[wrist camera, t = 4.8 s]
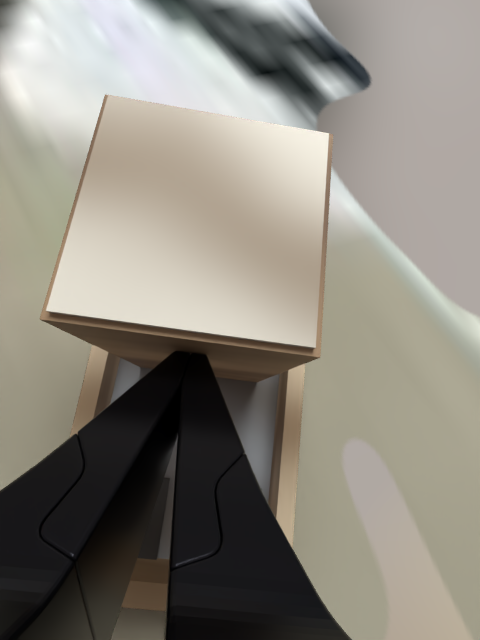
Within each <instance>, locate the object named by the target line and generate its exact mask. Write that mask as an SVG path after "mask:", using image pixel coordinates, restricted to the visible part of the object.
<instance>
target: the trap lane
mask: <svg viewBox="0 0 480 640" xmlns="http://www.w3.org/2000/svg"><path fill="white" fill-rule="evenodd" d="M151 370H152V369H150V368H142V367H139V366H137V365H135V364H132V363H130V362H128V361H126V360H124V359H122V358H120V357H118V356H116V355H114V354H111V353H109V352H107V351H105V350H103V349H101V348H99V347H97V346H95V345H93V344H92V348H91V352H90V356H89V360H88V364H87V368H86V372H85V376H84V380H83V385H82V389H81V393H80V397H79V401H78V405H77V409H76V413H75V417H74V421H73V426H72V430H71V434H70V437H71V436H73V435H74V434H77V432H78V431H79V430H80V429H81V428H82V427H84V426H85V425H86V424H87V423H88V422H90V421H91V420H92V419H93V418H94V417H96V416H97V415H98V414H99V413H100V412H102V411H103V410H104V409H105V408H106V407H108V406H109V405H110V404H111V403H112V402H114V401H115V400H116V399H117V398H118V397H120V396H121V395H122V394H123V393H124V392H126V391H127V390H128V389H129V388H130V387H132V386H133V385H134V384H135V383H136V382H138V381H139V380H140V379H141V378H142V377H144V376H145V375H146V374H147V373H148V372H150V371H151ZM304 374H305V364H302V365H300V366H297V367H295V368H292V369H290V370H287V371H285V372H282V373H280V374H277V375H275V376H272V377H270V378H267V379H265V380H262V381H260V382H250V381H243V380H235V379H227V378H219V377H216V379H217V382H218V384H219V387H220V389H221V392H222V394H223V397H224V399H225V402H226V404H227V407H228V409H229V412H230V414H231V417H232V419H233V422H234V425H235V427H236V430H237V432H238V435H239V437H240V440H241V442H242V445H243V447H244V450H245V454H246V455H247V457H248V459H249V462H250V465H251V467H252V470H253V472H254V474H255V476H256V479H257V481H258V483H259V486H260V488H261V490H262V492H263V494H264V496H265V498H266V500H267V502H268V504H269V506H270V508H271V510H272V512H273V514H274V516H275V518H276V519H277V521H278V523H279V525H280V527H281V528H282V530H283V532H284V534H285V536H286V538H287V539H288V541H289V543H290V545H291V547H292V548H293V533H294V519H295V504H296V490H297V476H298V461H299V447H300V432H301V418H302V403H303V389H304ZM77 435H78V434H77ZM177 439H178V435H177ZM177 439H176V443H175V446H174V449H173V452H172V455H171V458H170V461H169V464H168V467H167V470H166V473H165V476H164V479H163V482H162V485H161V488H160V491H159V494H158V497H157V500H156V503H155V506H154V509H153V512H152V515H151V518H150V521H149V525H148V528H147V531H146V534H145V537H144V540H143V543H142V546H141V549H140V552H139V555H138V558H137V561H136V564H135V567H134V570H133V573H132V576H131V579H130V582H129V585H128V588H127V591H126V594H125V597H124V600H123V603H122V606H121V607H124V608H135V609H146V610H157V611H166V599H167V585H168V570H169V555H170V541H171V526H172V511H173V497H174V482H175V467H176V453H177Z"/></svg>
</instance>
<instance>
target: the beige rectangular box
mask: <svg viewBox="0 0 480 640" xmlns="http://www.w3.org/2000/svg"><path fill="white" fill-rule="evenodd" d="M332 144H333V134H329V133H323V132H318V131H312V130H306V129H301V128H295V127H289V126H283V125H278V124H272V123H266V122H261V121H255V120H249V119H243V118H238V117H232V116H226V115H221V114H215V113H209V112H203V111H198V110H192V109H186V108H181V107H175V106H169V105H163V104H158V103H152V102H146V101H141V100H135V99H129V98H123V97H118V96H112V95H105V97H104V100H103V104H102V107H101V111H100V114H99V117H98V121H97V124H96V128H95V131H94V135H93V138H92V141H91V145H90V148H89V152H88V155H87V159H86V162H85V165H84V169H83V172H82V176H81V179H80V183H79V186H78V189H77V193H76V196H75V200H74V203H73V207H72V210H71V213H70V217H69V220H68V224H67V227H66V231H65V234H64V237H63V241H62V244H61V248H60V251H59V255H58V258H57V261H56V265H55V268H54V272H53V275H52V279H51V282H50V285H49V289H48V292H47V296H46V299H45V303H44V306H43V309H42V313H41V316H40V320H42V321H44V322H46V323H49V324H51V325H53V326H55V327H57V328H59V329H61V330H63V331H65V332H67V333H70V334H72V335H74V336H76V337H78V338H80V339H82V340H84V341H86V342H88V343H90V344H93V345H95V346H97V347H99V348H101V349H103V350H105V351H107V352H109V353H111V354H114V355H116V356H118V357H120V358H122V359H124V360H126V361H128V362H130V363H132V364H135V365H137V366H139V367H142V368H150V369H153V368H154V367H156V366H157V365H158V364H159V363H160V362H162V361H163V360H164V359H165V358H166V357H168V356H169V355H170V354H171V353H173V352H174V351H183V352H189V353H190V355H191V354H192V353H197V354H205V355H207V357H208V359H209V361H210V364H211V366H212V369H213V371H214V374H215V377H219V378H227V379H235V380H243V381H250V382H260V381H262V380H265V379H267V378H270V377H272V376H275V375H277V374H280V373H282V372H285V371H287V370H290V369H292V368H295V367H297V366H300V365H302V364H305V363H307V362H310V361H312V360H315V359H317V358H320V353H321V335H322V318H323V301H324V283H325V266H326V249H327V231H328V214H329V196H330V179H331V162H332Z"/></svg>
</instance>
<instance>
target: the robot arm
mask: <svg viewBox="0 0 480 640" xmlns="http://www.w3.org/2000/svg"><path fill="white" fill-rule="evenodd" d="M77 434H78V435H77ZM77 434H74V435H73V436H71V437H70V438H69V439H68V440H67V441H65V442H64V443H63V444H62V445H61V446H59V447H58V448H57V449H56V450H54V451H53V452H52V453H50V454H49V455H48V456H47V457H45V458H44V459H43V460H42V461H40V462H39V463H38V464H37V465H35V466H34V467H32V468H31V469H30V470H28V471H27V472H26V473H24V474H23V475H21V476H20V477H19V478H17V479H16V480H15V481H13V482H12V483H10V484H9V485H8V486H6V487H5V488H3V489H2V490H1V491H0V640H110V639H111V636H112V633H113V630H114V627H115V624H116V621H117V618H118V615H119V612H120V609H121V606H122V603H123V600H124V597H125V594H126V591H127V588H128V585H129V582H130V579H131V576H132V573H133V570H134V567H135V564H136V561H137V558H138V555H139V552H140V549H141V546H142V543H143V540H144V537H145V534H146V531H147V528H148V525H149V521H150V518H151V515H152V512H153V509H154V506H155V503H156V500H157V497H158V494H159V491H160V488H161V485H162V482H163V479H164V476H165V473H166V470H167V467H168V464H169V461H170V458H171V455H172V452H173V449H174V446H175V443H176V439H177V435H178V439H177V453H176V467H175V482H174V497H173V511H172V526H171V541H170V555H169V570H168V585H167V599H166V614H165V628H164V640H352V639H351V638H350V637H349V636H348V635H347V634H346V633H345V632H344V630H343V629H342V628H341V627H340V625H339V624H338V623H337V622H336V621H335V619H334V618H333V616H332V615H331V614H330V612H329V611H328V609H327V608H326V606H325V605H324V603H323V602H322V600H321V599H320V597H319V595H318V594H317V592H316V590H315V588H314V587H313V585H312V583H311V581H310V579H309V578H308V576H307V574H306V572H305V570H304V569H303V567H302V565H301V563H300V561H299V559H298V558H297V556H296V554H295V552H294V550H293V549H292V547H291V545H290V543H289V541H288V539H287V538H286V536H285V534H284V532H283V530H282V528H281V527H280V525H279V523H278V521H277V519H276V518H275V516H274V514H273V512H272V510H271V508H270V506H269V504H268V502H267V500H266V498H265V496H264V494H263V492H262V490H261V488H260V486H259V483H258V481H257V479H256V476H255V474H254V472H253V470H252V467H251V465H250V462H249V459H248V457H247V455H246V454H245V450H244V447H243V445H242V442H241V440H240V437H239V435H238V432H237V430H236V427H235V425H234V422H233V419H232V417H231V414H230V412H229V409H228V407H227V404H226V402H225V399H224V397H223V394H222V392H221V389H220V387H219V384H218V382H217V379H216V377H215V374H214V371H213V369H212V366H211V364H210V361H209V359H208V357H207V355H205V354H197V353H192V354H191V355H190V353H189V352H183V351H174V352H173V353H171V354H170V355H169V356H168V357H166V358H165V359H164V360H163V361H162V362H160V363H159V364H158V365H157V366H156V367H154V368H153V369H152V370H151V371H150V372H148V373H147V374H146V375H145V376H144V377H142V378H141V379H140V380H139V381H138V382H136V383H135V384H134V385H133V386H132V387H130V388H129V389H128V390H127V391H126V392H124V393H123V394H122V395H121V396H120V397H118V398H117V399H116V400H115V401H114V402H112V403H111V404H110V405H109V406H108V407H106V408H105V409H104V410H103V411H102V412H100V413H99V414H98V415H97V416H96V417H94V418H93V419H92V420H91V421H90V422H88V423H87V424H86V425H85V426H84V427H82V428H81V429H80V430H79V431H78V432H77Z"/></svg>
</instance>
